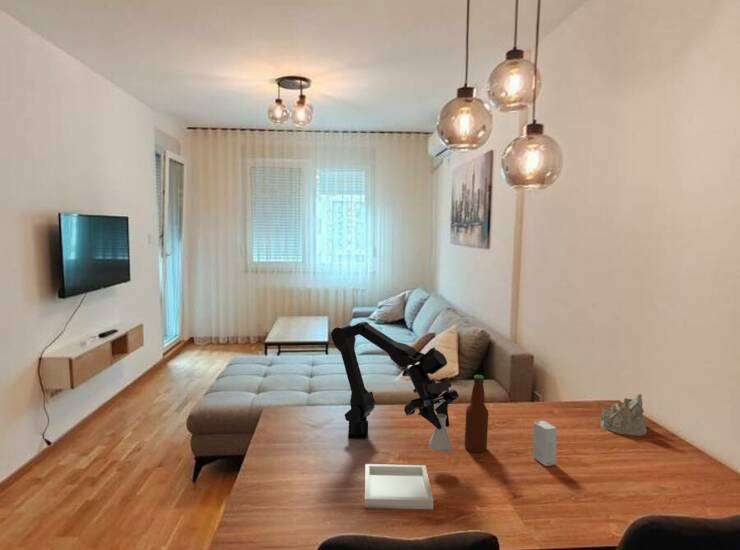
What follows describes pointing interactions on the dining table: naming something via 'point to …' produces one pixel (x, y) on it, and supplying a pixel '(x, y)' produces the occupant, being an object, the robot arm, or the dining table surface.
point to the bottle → (476, 418)
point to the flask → (440, 436)
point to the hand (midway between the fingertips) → (444, 427)
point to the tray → (397, 487)
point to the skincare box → (544, 443)
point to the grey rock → (625, 417)
